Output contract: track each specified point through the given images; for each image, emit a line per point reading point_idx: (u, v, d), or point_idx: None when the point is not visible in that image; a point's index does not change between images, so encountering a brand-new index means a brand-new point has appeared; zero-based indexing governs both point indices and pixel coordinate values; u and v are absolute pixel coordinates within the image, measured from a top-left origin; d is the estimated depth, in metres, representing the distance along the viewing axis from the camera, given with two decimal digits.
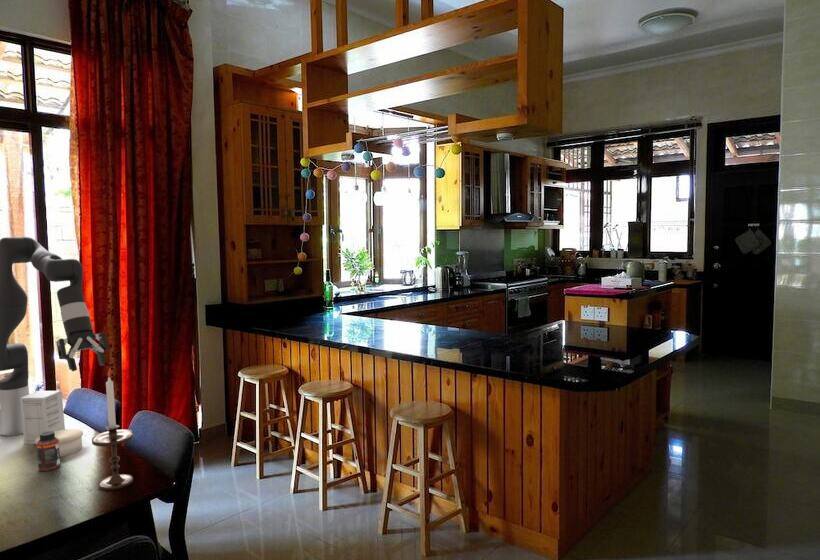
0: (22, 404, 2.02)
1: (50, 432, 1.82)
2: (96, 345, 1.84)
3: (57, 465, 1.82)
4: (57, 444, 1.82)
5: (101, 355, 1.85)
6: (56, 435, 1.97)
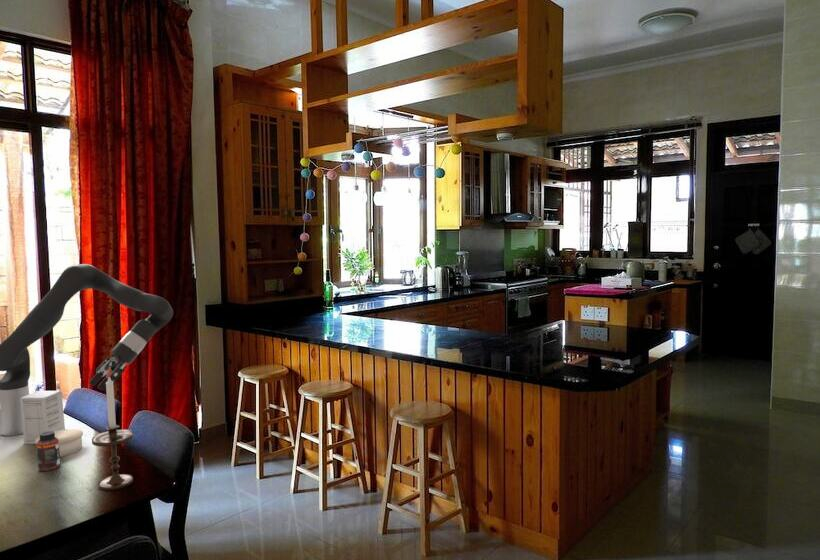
0: (22, 404, 2.02)
1: (50, 432, 1.82)
2: None
3: (57, 465, 1.82)
4: (57, 444, 1.82)
5: None
6: (56, 435, 1.97)
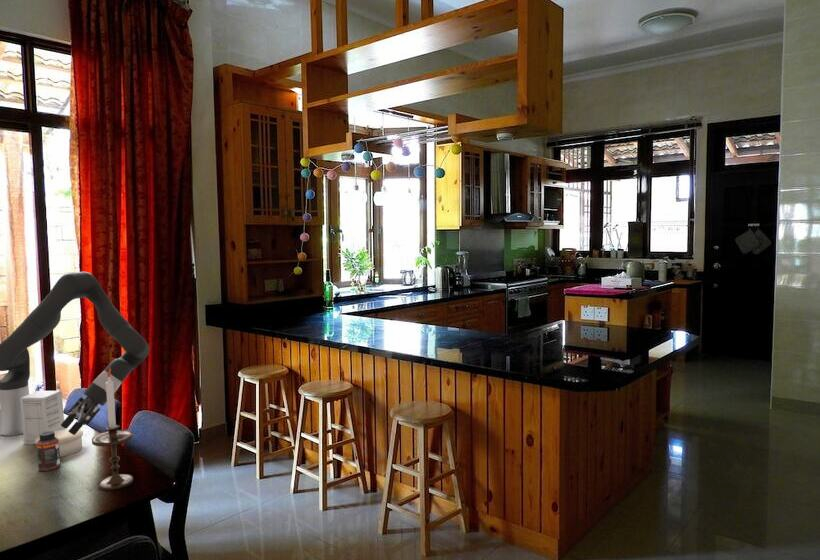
0: (22, 404, 2.02)
1: (50, 432, 1.82)
2: None
3: (57, 465, 1.82)
4: (57, 444, 1.82)
5: (72, 421, 1.90)
6: (56, 435, 1.97)
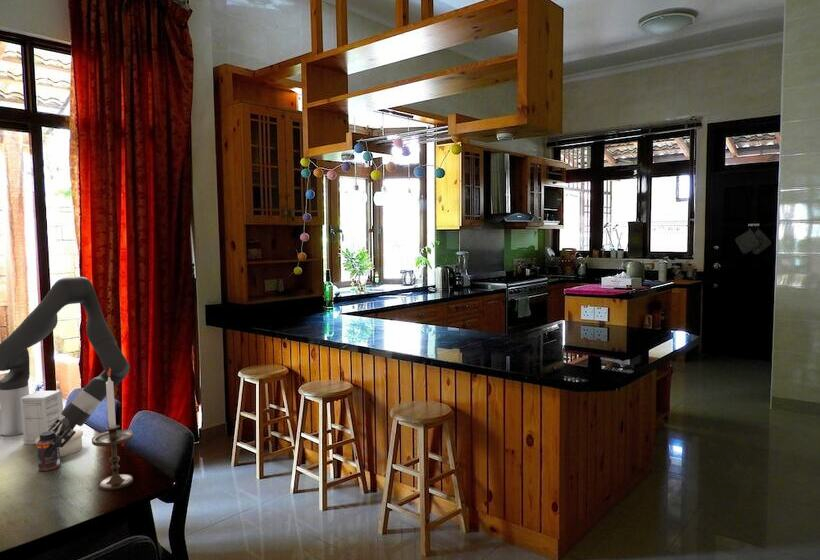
0: (22, 404, 2.02)
1: (50, 432, 1.82)
2: None
3: (57, 465, 1.82)
4: None
5: None
6: None
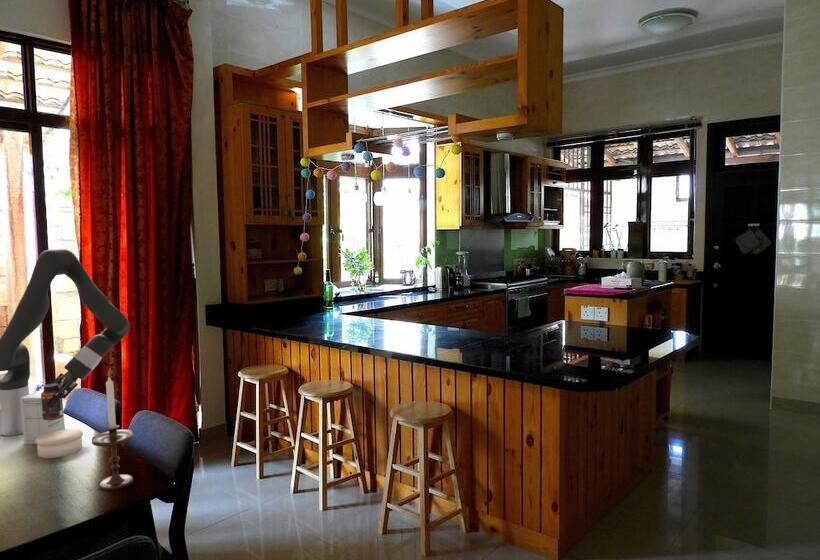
0: (22, 404, 2.02)
1: (54, 384, 1.91)
2: None
3: (60, 415, 1.91)
4: None
5: None
6: (56, 435, 1.97)
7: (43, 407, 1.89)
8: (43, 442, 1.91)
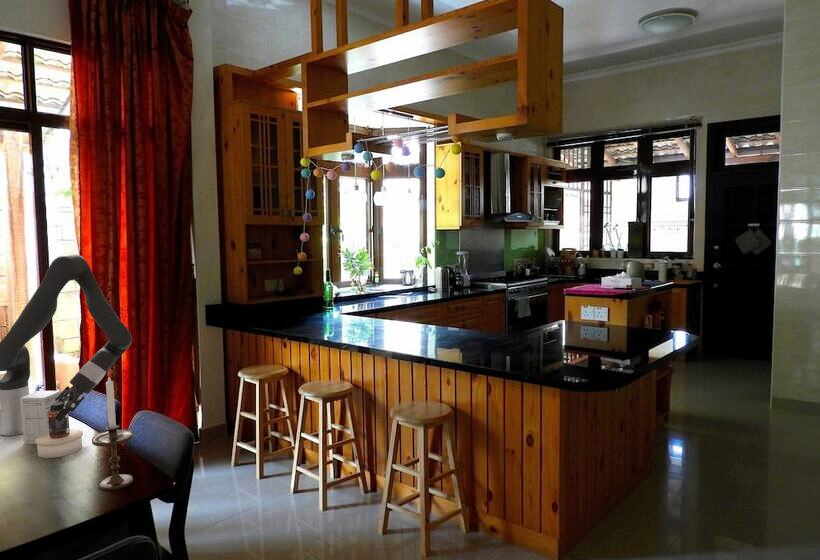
0: (22, 404, 2.02)
1: (60, 402, 1.96)
2: None
3: (67, 433, 1.96)
4: (67, 414, 1.96)
5: None
6: None
7: (50, 425, 1.94)
8: (43, 442, 1.91)
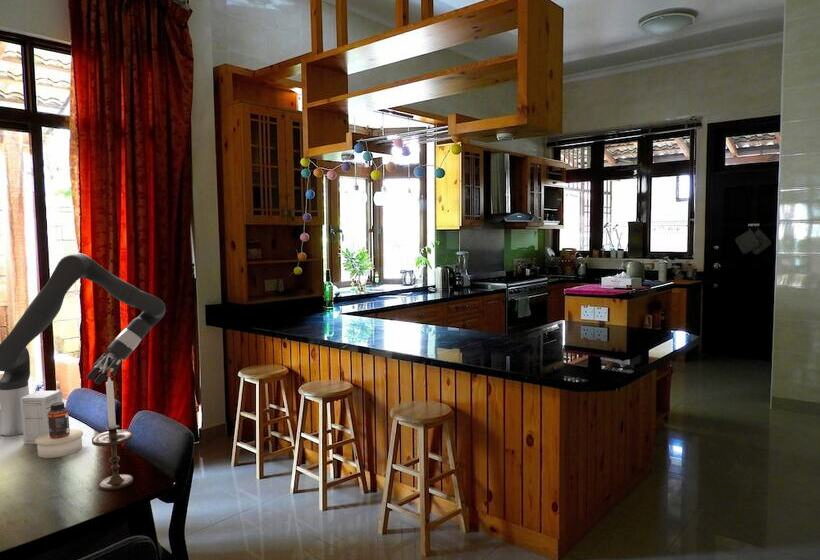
0: (22, 404, 2.02)
1: (60, 403, 1.96)
2: None
3: (67, 433, 1.96)
4: (67, 414, 1.96)
5: None
6: None
7: (50, 425, 1.94)
8: (43, 442, 1.91)
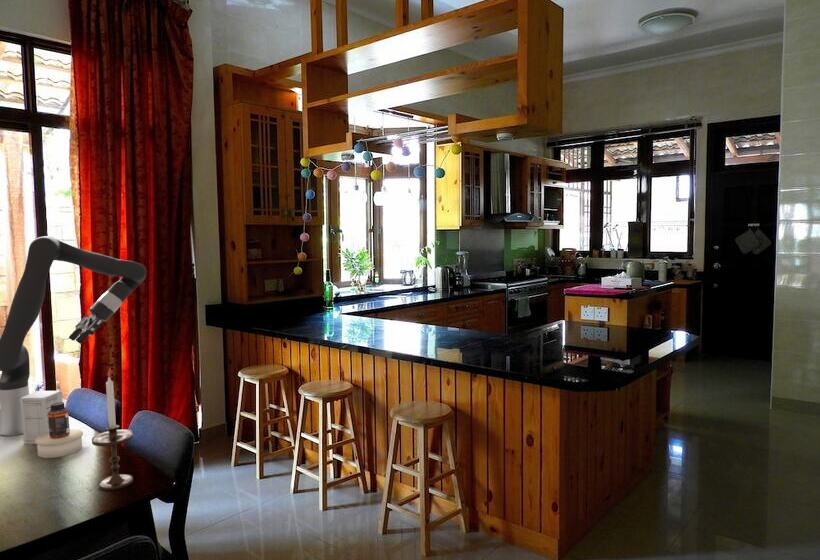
0: (22, 404, 2.02)
1: (60, 403, 1.96)
2: None
3: (67, 433, 1.96)
4: (67, 414, 1.96)
5: (79, 334, 2.15)
6: None
7: (50, 425, 1.94)
8: (43, 442, 1.91)
